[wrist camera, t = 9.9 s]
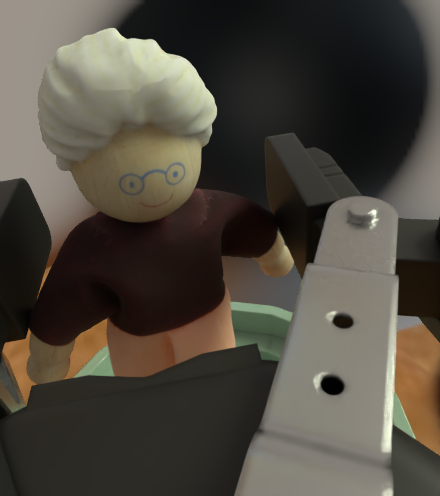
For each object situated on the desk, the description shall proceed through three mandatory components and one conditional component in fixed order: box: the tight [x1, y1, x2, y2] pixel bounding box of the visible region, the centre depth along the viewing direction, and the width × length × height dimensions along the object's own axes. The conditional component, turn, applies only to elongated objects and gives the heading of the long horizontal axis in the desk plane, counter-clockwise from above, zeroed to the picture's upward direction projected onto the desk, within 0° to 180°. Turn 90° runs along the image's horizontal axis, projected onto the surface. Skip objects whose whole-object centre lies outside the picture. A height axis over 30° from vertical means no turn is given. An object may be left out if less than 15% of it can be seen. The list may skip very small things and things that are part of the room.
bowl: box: [73, 302, 416, 439], centre depth 17 cm, size 15×15×4 cm
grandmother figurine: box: [27, 28, 294, 385], centre depth 11 cm, size 8×4×13 cm, turn 129°
